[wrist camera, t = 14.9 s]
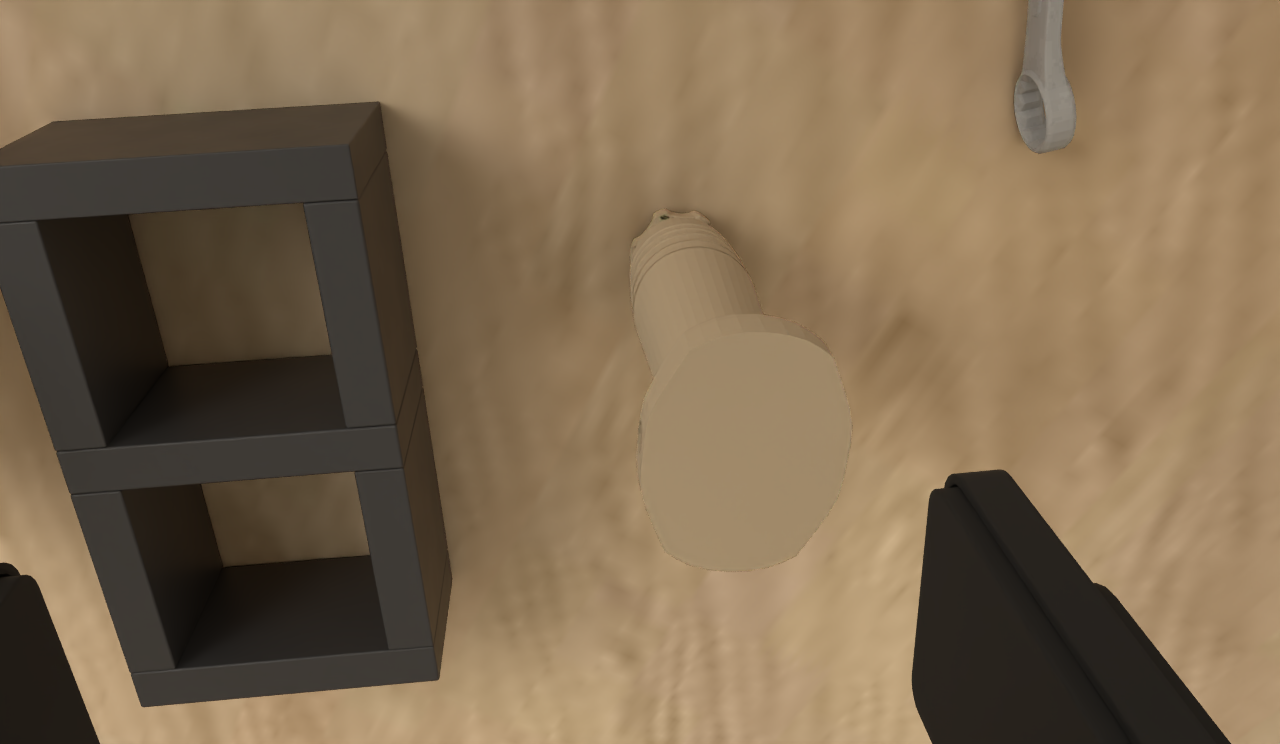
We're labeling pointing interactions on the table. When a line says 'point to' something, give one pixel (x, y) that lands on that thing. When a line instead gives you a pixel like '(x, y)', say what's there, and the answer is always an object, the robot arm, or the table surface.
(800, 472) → the handle
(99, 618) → the table surface
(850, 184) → the table surface
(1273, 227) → the table surface
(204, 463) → the holder
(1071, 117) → the combination wrench
